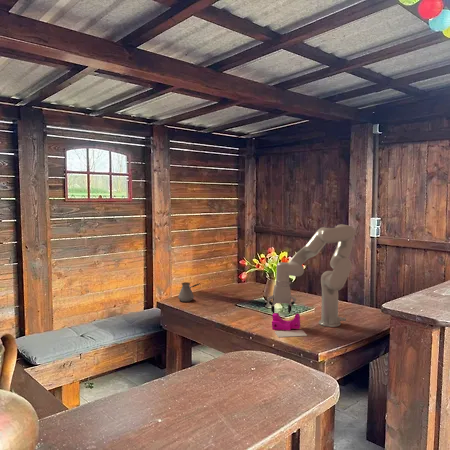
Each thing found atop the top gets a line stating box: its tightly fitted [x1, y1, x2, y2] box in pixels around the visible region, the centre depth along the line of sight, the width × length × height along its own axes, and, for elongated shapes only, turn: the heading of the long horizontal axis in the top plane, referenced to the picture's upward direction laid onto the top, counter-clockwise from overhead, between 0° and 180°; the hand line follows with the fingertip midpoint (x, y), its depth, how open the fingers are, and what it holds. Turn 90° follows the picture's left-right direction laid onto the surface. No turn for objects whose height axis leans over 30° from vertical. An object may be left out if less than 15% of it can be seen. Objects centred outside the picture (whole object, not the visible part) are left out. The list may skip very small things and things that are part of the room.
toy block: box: [271, 312, 301, 331], centre depth 228 cm, size 15×6×8 cm, turn 69°
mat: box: [274, 329, 308, 338], centre depth 221 cm, size 16×9×1 cm, turn 97°
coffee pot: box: [178, 281, 201, 303], centre depth 289 cm, size 21×12×15 cm, turn 45°
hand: (281, 312), depth 235 cm, fingers open, 9 cm apart
